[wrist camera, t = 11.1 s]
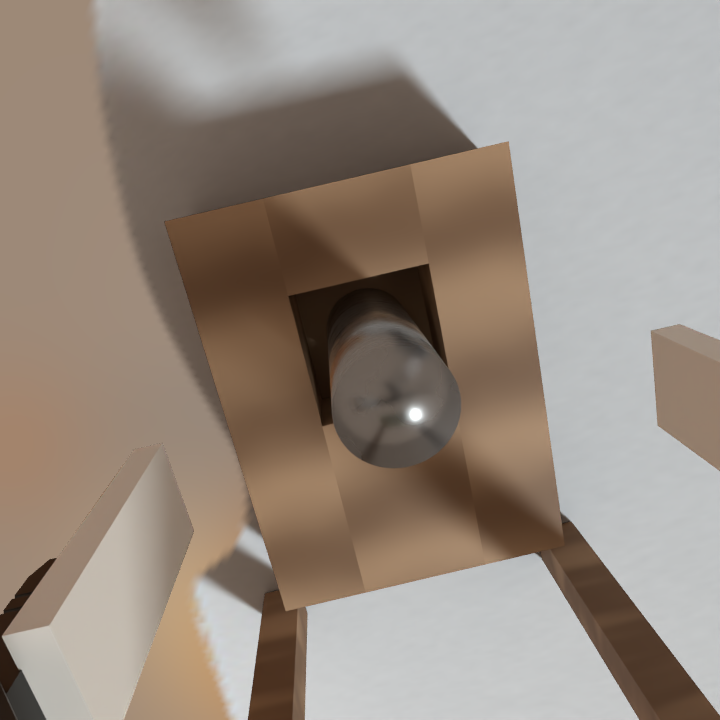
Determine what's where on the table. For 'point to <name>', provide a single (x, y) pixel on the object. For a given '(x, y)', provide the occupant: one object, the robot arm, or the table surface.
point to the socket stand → (421, 481)
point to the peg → (387, 383)
